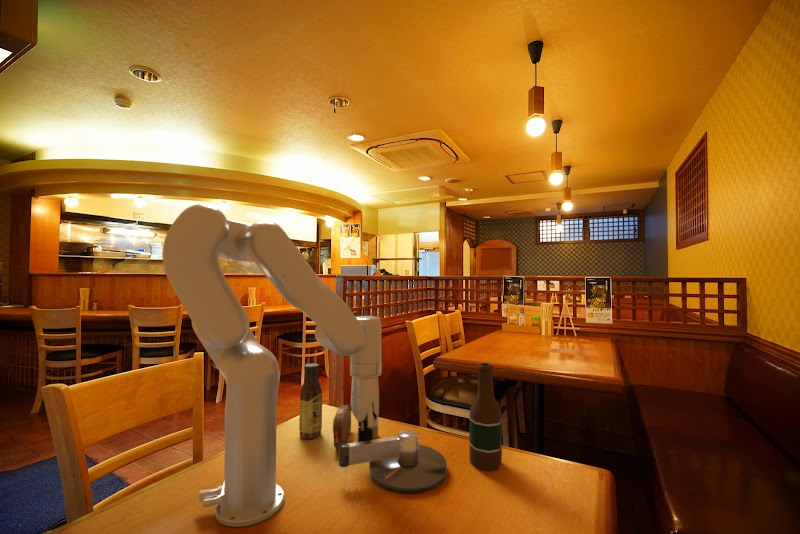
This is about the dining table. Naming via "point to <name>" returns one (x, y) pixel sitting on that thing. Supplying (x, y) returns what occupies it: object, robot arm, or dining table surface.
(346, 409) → the tin
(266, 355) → the robot arm
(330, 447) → the dining table surface
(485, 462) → the beer bottle
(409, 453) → the dial lever
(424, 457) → the dial plate
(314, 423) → the sauce bottle
